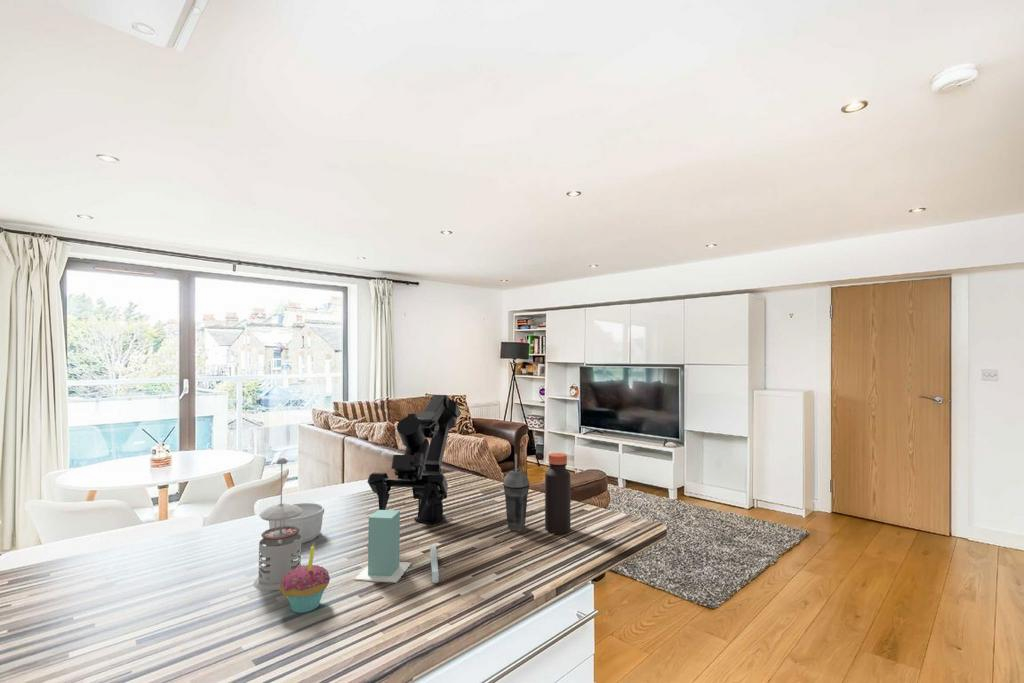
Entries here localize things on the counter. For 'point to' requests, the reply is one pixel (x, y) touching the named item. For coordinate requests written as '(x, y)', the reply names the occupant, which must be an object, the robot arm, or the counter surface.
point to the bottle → (557, 495)
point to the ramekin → (304, 521)
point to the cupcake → (305, 585)
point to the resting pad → (394, 579)
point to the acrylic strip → (434, 564)
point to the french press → (277, 556)
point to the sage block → (383, 542)
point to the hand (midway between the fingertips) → (399, 516)
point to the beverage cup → (516, 497)
